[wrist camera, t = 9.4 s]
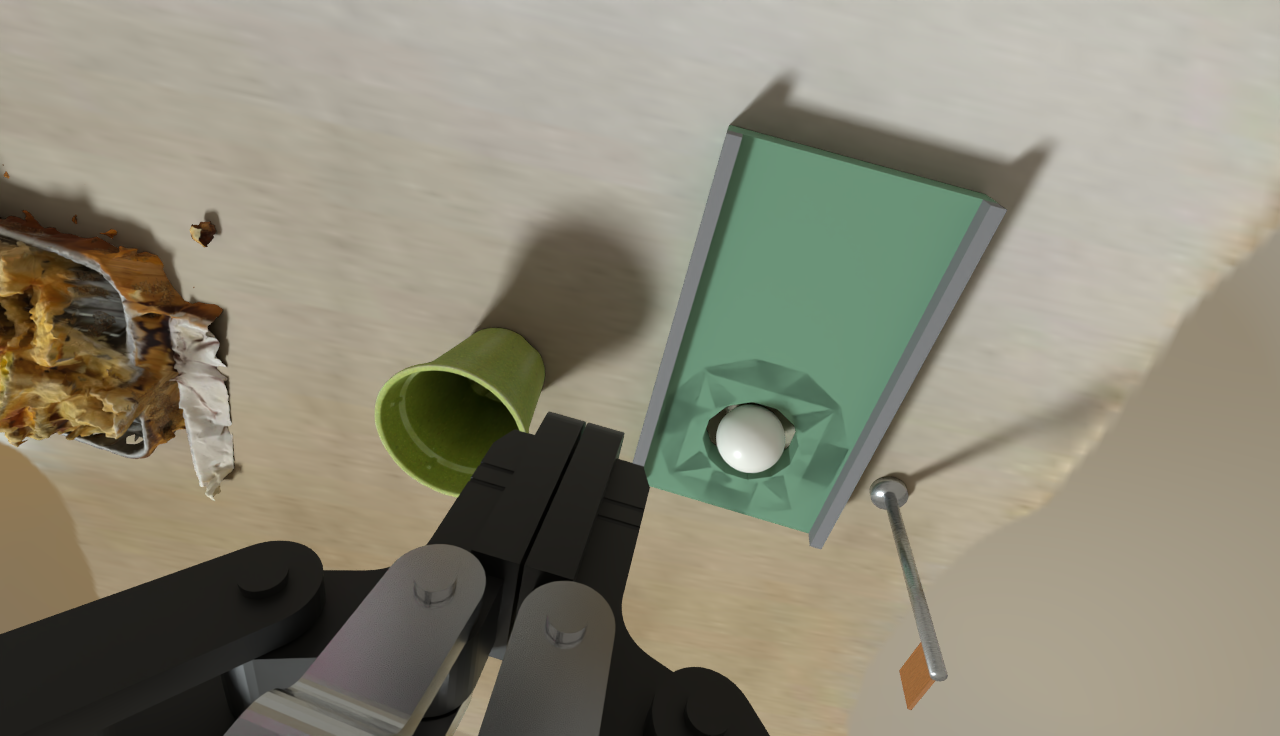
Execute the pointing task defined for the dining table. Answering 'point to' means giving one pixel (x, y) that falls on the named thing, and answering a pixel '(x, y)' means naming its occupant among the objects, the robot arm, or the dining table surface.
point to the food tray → (107, 349)
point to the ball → (750, 438)
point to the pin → (911, 597)
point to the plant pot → (459, 407)
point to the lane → (806, 321)
